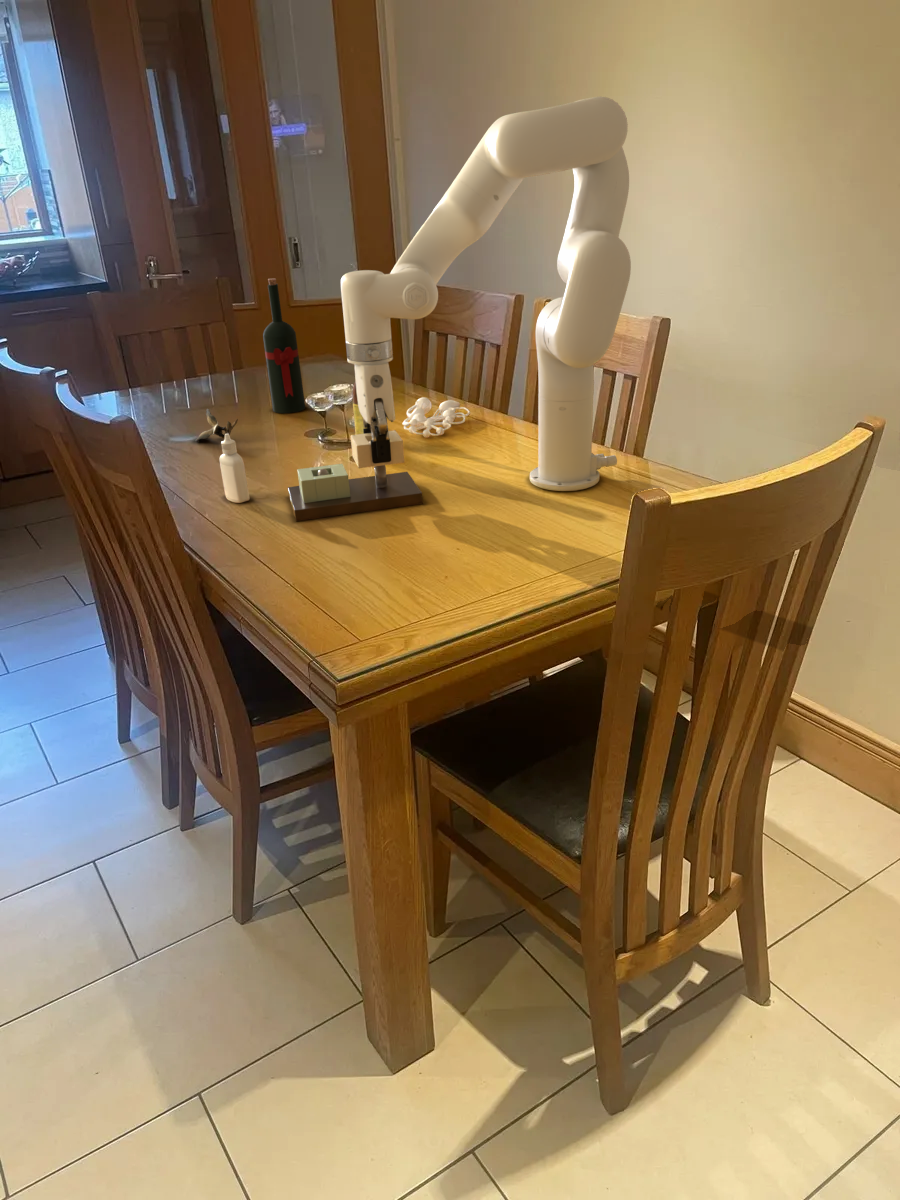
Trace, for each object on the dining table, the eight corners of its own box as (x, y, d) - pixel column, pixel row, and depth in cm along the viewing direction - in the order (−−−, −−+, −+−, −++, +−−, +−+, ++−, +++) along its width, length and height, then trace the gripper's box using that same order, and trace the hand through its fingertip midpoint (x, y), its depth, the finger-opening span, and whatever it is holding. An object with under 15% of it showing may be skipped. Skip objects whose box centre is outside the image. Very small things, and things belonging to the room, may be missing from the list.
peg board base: (408, 481, 160) (405, 447, 157) (422, 503, 150) (420, 468, 147) (289, 497, 155) (284, 463, 152) (296, 521, 145) (291, 484, 142)
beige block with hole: (396, 451, 154) (395, 430, 152) (404, 462, 148) (403, 440, 147) (352, 457, 152) (350, 435, 150) (358, 468, 147) (356, 445, 145)
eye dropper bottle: (225, 505, 153) (213, 439, 148) (225, 494, 158) (214, 431, 153) (249, 502, 154) (239, 437, 148) (250, 492, 159) (239, 428, 153)
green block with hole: (344, 484, 154) (342, 463, 152) (350, 497, 149) (348, 474, 147) (299, 490, 152) (297, 469, 151) (304, 503, 147) (301, 481, 145)
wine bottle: (275, 417, 204) (256, 283, 190) (271, 406, 213) (253, 278, 199) (308, 413, 206) (292, 280, 192) (303, 403, 214) (287, 275, 201)
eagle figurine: (244, 430, 191) (211, 420, 194) (233, 409, 184) (199, 399, 187) (226, 457, 188) (193, 446, 191) (214, 436, 182) (180, 425, 184)
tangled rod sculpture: (455, 445, 182) (456, 426, 180) (389, 438, 185) (389, 419, 183) (474, 417, 198) (474, 399, 196) (413, 410, 201) (413, 393, 199)
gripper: (402, 359, 135) (409, 468, 143) (382, 339, 150) (389, 439, 158) (355, 364, 133) (365, 474, 142) (339, 343, 148) (348, 444, 157)
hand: (377, 455), depth 150 cm, fingers closed on beige block with hole, 6 cm apart
